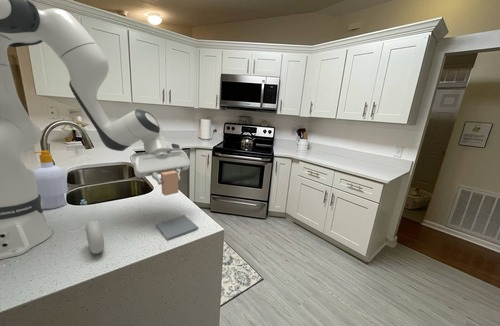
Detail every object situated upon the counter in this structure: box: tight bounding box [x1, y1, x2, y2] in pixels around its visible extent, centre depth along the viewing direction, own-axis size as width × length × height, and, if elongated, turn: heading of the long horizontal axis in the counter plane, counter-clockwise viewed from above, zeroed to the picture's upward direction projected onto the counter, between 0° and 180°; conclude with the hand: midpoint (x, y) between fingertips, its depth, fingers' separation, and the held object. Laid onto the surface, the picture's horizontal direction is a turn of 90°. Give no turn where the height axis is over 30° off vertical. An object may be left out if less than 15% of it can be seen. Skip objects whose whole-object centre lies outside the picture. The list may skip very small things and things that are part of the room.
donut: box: [85, 220, 105, 255], centre depth 64 cm, size 10×4×10 cm, turn 45°
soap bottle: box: [32, 150, 69, 210], centre depth 87 cm, size 10×10×24 cm
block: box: [160, 171, 179, 197], centre depth 77 cm, size 5×3×8 cm, turn 134°
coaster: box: [154, 214, 199, 242], centre depth 80 cm, size 12×12×1 cm
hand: (170, 181), depth 77 cm, fingers closed on block, 5 cm apart
